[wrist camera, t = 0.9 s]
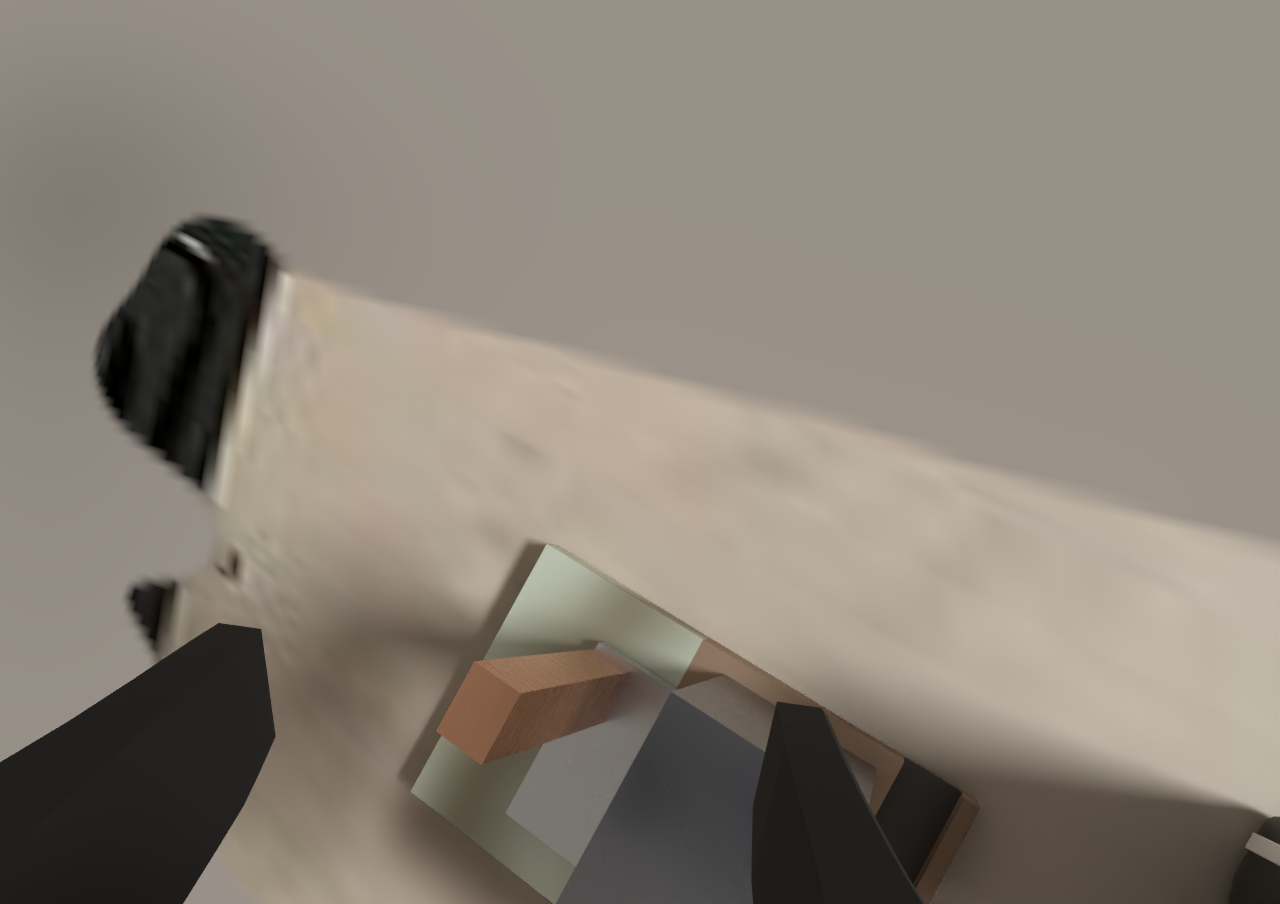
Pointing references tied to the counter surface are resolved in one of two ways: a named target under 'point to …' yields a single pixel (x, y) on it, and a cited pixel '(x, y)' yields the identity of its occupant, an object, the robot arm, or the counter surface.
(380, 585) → the counter surface
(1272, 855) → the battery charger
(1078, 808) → the counter surface
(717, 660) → the track board
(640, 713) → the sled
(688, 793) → the grey box
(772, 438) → the counter surface
